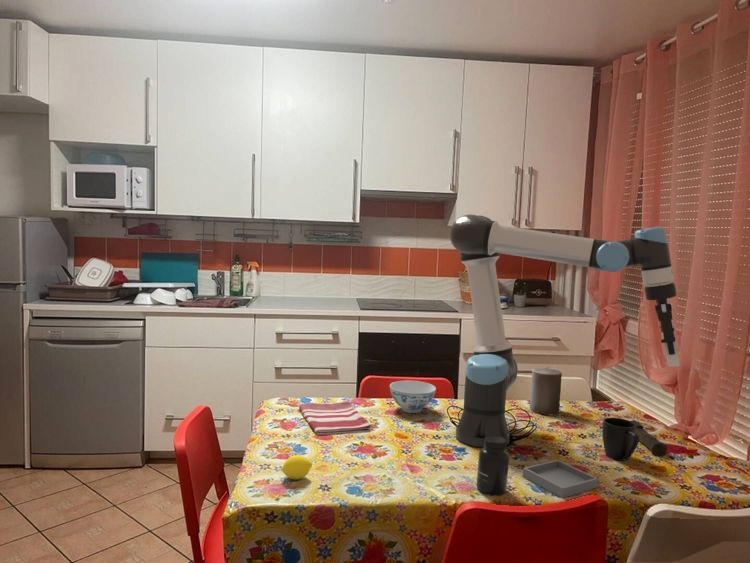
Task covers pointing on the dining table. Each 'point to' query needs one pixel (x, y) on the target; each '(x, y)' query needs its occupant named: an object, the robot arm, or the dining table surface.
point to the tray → (560, 478)
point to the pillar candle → (545, 391)
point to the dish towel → (333, 418)
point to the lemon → (296, 467)
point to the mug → (619, 438)
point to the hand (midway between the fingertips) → (672, 360)
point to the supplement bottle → (493, 466)
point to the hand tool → (650, 441)
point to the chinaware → (412, 395)
